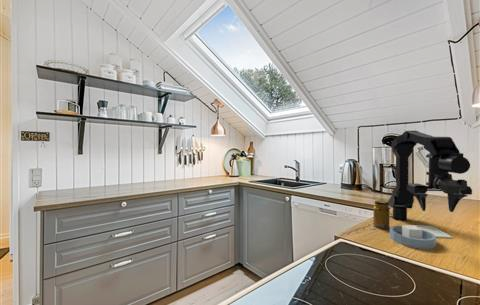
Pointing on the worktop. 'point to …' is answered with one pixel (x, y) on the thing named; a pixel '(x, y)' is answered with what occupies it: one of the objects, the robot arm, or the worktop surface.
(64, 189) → the worktop surface
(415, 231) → the white matte cube
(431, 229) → the tray
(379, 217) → the condiment
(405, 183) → the robot arm
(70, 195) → the worktop surface
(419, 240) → the bowl
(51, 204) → the worktop surface
